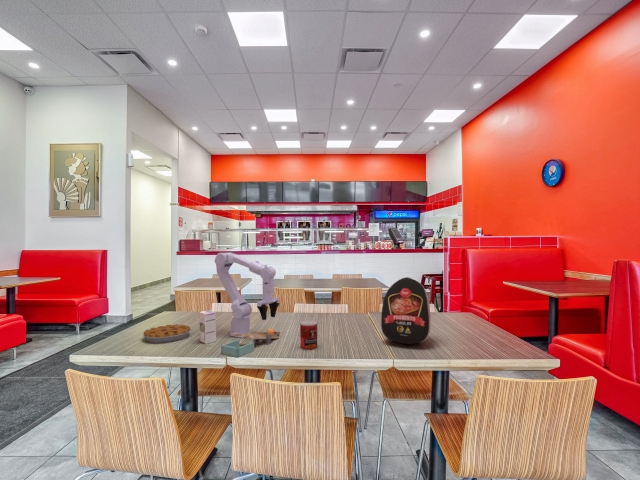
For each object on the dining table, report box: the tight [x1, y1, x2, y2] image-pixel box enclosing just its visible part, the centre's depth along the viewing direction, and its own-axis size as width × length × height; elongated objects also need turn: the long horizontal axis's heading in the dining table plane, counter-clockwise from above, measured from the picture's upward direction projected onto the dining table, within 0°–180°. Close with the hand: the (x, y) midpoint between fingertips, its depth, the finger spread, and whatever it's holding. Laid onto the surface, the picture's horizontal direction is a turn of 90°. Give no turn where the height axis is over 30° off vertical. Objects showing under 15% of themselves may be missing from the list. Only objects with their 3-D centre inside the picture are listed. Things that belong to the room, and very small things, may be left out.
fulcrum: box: [252, 336, 273, 346], centre depth 152 cm, size 9×4×3 cm, turn 59°
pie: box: [142, 323, 192, 344], centre depth 162 cm, size 22×22×5 cm
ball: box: [266, 327, 275, 334], centre depth 157 cm, size 4×4×4 cm
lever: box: [232, 330, 281, 340], centre depth 154 cm, size 14×18×3 cm
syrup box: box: [199, 309, 217, 345], centre depth 154 cm, size 6×6×14 cm
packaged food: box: [380, 276, 431, 345], centre depth 150 cm, size 22×20×30 cm
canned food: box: [299, 320, 318, 351], centre depth 145 cm, size 8×8×11 cm
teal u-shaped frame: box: [220, 339, 255, 358], centre depth 138 cm, size 10×10×4 cm
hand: (268, 318), depth 161 cm, fingers open, 6 cm apart
